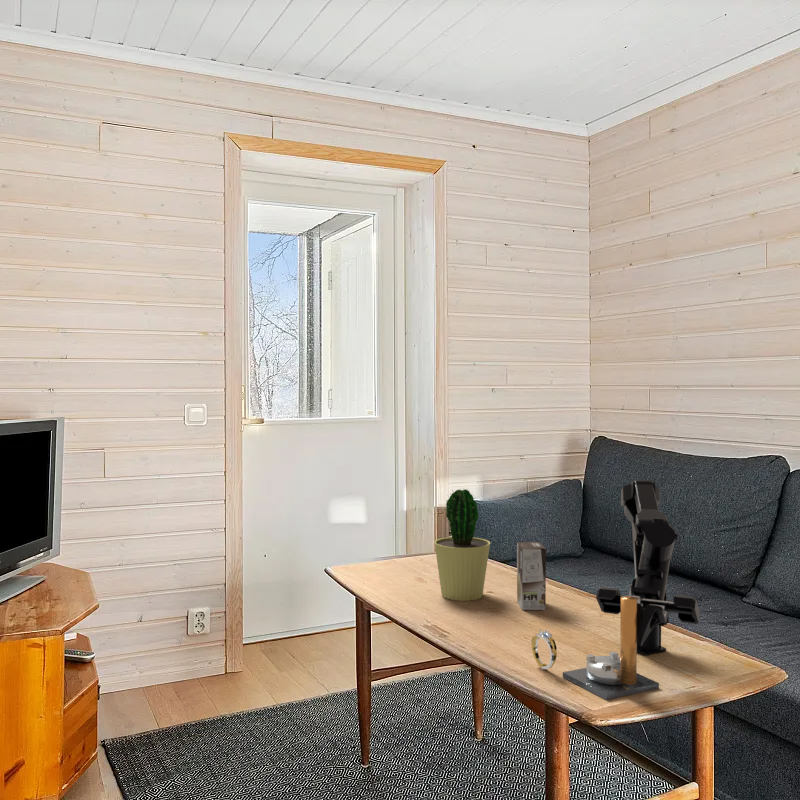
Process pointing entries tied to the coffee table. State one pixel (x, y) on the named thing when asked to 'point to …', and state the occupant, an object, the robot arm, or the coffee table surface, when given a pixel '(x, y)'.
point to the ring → (552, 647)
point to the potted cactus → (462, 551)
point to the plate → (609, 685)
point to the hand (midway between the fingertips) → (640, 644)
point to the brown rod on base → (626, 665)
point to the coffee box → (531, 575)
